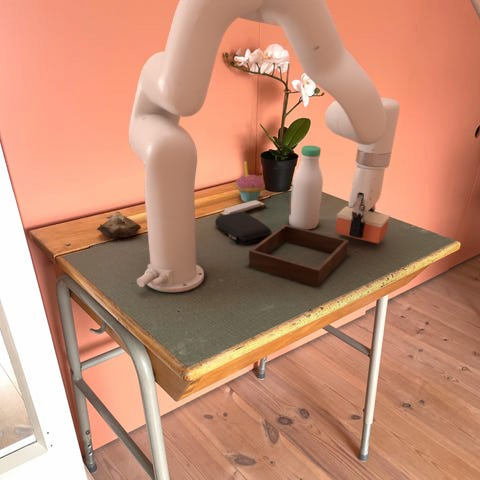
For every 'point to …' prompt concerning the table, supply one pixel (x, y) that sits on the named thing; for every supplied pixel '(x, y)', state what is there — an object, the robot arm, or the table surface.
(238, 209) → the harmonica
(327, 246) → the wooden box
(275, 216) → the table surface
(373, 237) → the lunchbox
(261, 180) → the cupcake
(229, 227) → the carrying case
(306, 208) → the milk bottle
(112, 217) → the fossilized seashell
